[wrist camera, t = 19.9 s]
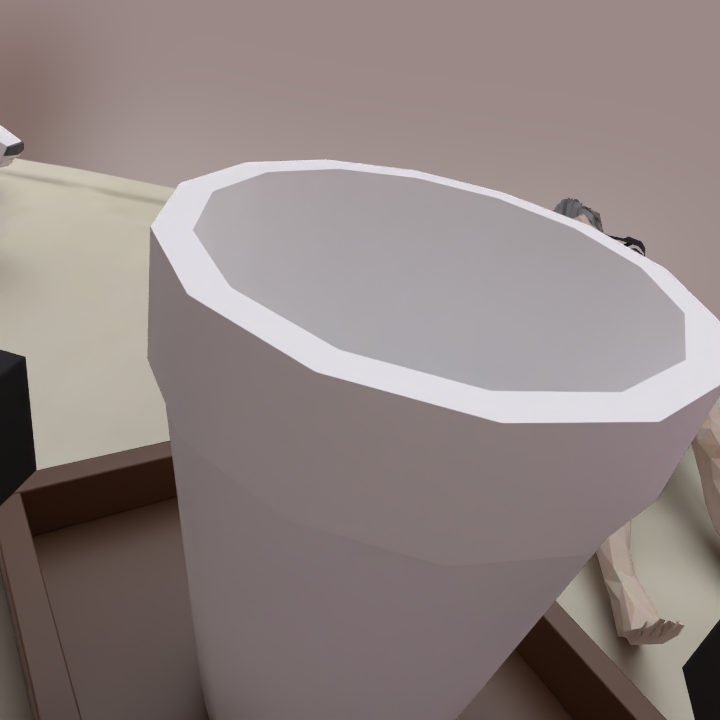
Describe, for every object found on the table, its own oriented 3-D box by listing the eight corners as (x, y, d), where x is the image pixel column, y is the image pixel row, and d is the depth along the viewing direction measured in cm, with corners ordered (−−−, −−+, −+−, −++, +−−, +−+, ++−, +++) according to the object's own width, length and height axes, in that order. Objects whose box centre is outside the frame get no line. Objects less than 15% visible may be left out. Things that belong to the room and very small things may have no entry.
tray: (-6, 545, 20) (-16, 480, 19) (352, 448, 28) (365, 396, 26) (197, 1478, 9) (211, 1498, 7) (718, 886, 16) (778, 837, 15)
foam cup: (266, 508, 23) (327, 136, 16) (516, 631, 20) (711, 257, 14) (56, 754, 15) (-1, 238, 8) (419, 997, 13) (756, 557, 6)
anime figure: (654, 587, 18) (514, 160, 41) (554, 698, 23) (479, 258, 46) (967, 638, 19) (656, 190, 42) (808, 735, 23) (608, 284, 46)
